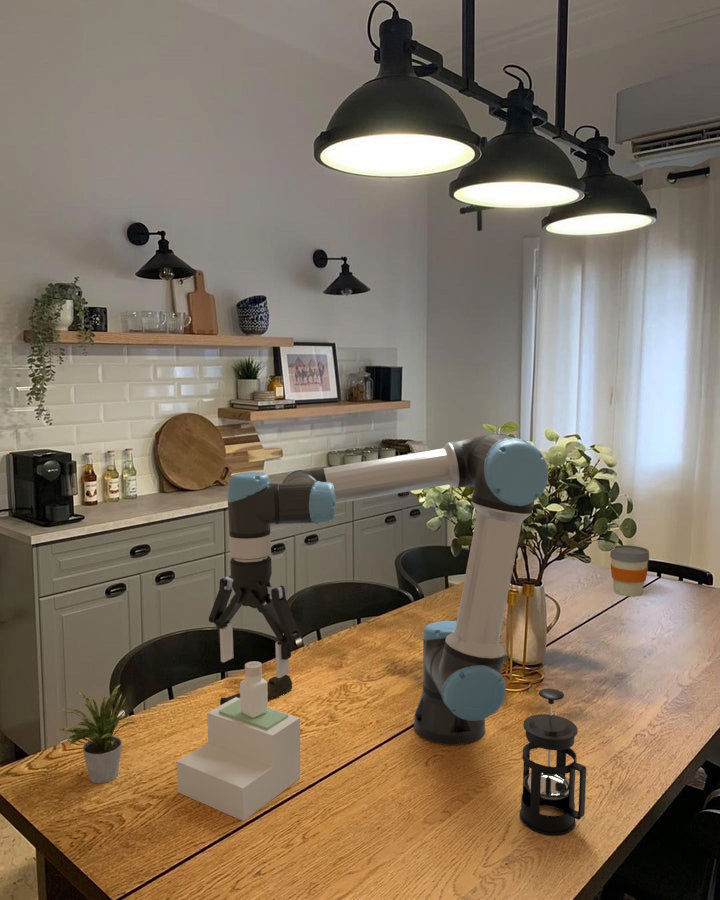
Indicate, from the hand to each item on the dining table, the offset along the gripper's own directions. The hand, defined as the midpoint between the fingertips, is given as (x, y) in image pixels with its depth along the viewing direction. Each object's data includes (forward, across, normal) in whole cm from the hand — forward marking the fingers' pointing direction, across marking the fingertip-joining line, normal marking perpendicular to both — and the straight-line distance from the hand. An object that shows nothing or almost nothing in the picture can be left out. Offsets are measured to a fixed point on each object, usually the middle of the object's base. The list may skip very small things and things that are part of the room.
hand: (254, 667), depth 140 cm
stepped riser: (+21, 0, +4) cm, 22 cm away
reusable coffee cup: (+23, -32, -156) cm, 160 cm away
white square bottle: (+9, 0, 0) cm, 9 cm away
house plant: (+21, +26, +15) cm, 37 cm away
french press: (+22, -52, -17) cm, 59 cm away
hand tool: (+22, +21, -24) cm, 38 cm away
